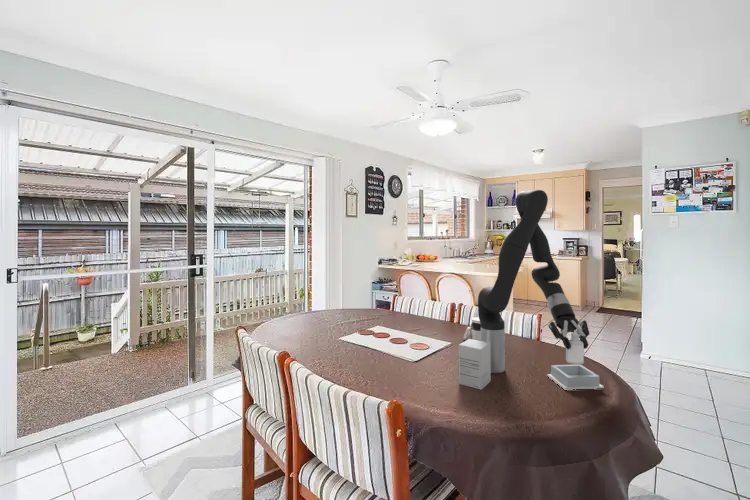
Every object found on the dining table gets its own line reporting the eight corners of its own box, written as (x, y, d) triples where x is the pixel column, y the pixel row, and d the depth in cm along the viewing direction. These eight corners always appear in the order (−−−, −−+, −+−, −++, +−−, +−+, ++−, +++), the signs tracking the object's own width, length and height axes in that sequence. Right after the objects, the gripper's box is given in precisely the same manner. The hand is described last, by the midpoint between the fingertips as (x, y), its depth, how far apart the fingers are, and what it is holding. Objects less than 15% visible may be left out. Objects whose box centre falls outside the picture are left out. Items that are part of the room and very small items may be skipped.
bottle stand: (564, 390, 129) (564, 378, 129) (547, 376, 141) (547, 365, 141) (603, 389, 129) (603, 376, 129) (583, 375, 141) (583, 363, 141)
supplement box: (468, 375, 143) (468, 338, 142) (491, 381, 138) (491, 342, 137) (458, 383, 136) (457, 344, 135) (481, 390, 131) (481, 349, 130)
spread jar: (489, 345, 179) (489, 321, 178) (466, 345, 179) (466, 321, 179) (483, 337, 191) (483, 315, 190) (461, 337, 191) (461, 315, 191)
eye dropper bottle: (581, 366, 131) (581, 333, 130) (564, 362, 135) (564, 330, 134) (585, 362, 134) (585, 330, 133) (568, 358, 138) (568, 327, 137)
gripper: (545, 303, 141) (562, 344, 129) (582, 301, 141) (602, 342, 130) (538, 313, 146) (554, 353, 135) (574, 312, 147) (592, 351, 136)
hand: (577, 347), depth 133 cm, fingers closed on eye dropper bottle, 5 cm apart
